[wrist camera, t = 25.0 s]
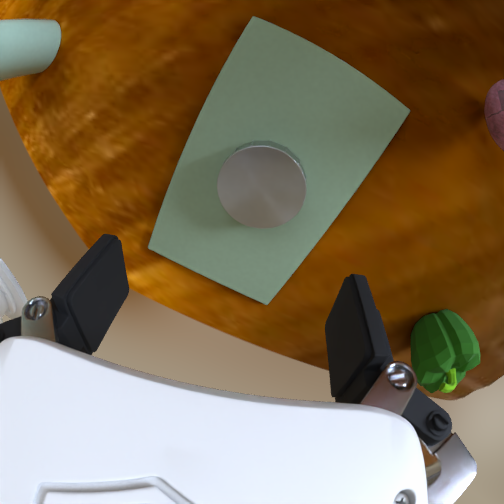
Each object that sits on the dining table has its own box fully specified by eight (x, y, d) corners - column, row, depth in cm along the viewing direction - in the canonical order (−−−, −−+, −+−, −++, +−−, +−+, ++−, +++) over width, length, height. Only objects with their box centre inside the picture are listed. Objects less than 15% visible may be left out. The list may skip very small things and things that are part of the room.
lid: (218, 141, 19) (212, 146, 18) (306, 140, 18) (308, 145, 17) (225, 217, 23) (220, 228, 21) (303, 218, 22) (305, 230, 20)
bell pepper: (467, 319, 27) (493, 380, 18) (418, 351, 31) (434, 415, 22) (449, 286, 24) (484, 358, 16) (392, 326, 28) (410, 401, 20)
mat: (267, 301, 28) (267, 305, 28) (149, 245, 26) (147, 248, 25) (408, 110, 16) (410, 110, 16) (253, 17, 14) (253, 15, 13)
